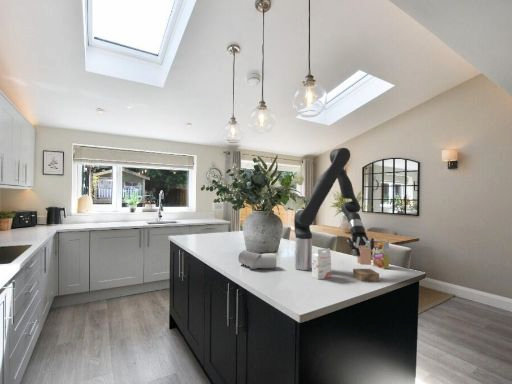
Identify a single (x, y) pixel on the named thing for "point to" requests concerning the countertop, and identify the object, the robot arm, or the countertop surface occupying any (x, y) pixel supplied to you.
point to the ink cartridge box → (321, 264)
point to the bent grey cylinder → (257, 260)
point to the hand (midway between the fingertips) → (364, 255)
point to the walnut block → (365, 275)
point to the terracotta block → (364, 256)
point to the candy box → (381, 254)
